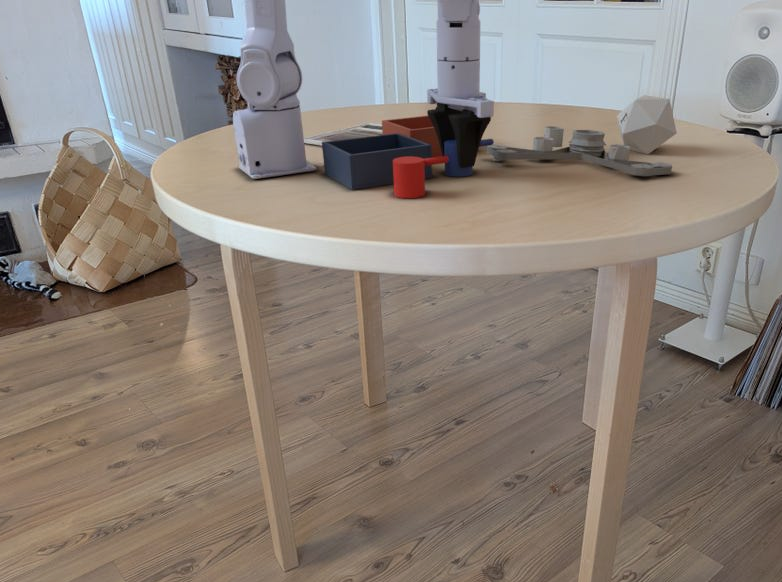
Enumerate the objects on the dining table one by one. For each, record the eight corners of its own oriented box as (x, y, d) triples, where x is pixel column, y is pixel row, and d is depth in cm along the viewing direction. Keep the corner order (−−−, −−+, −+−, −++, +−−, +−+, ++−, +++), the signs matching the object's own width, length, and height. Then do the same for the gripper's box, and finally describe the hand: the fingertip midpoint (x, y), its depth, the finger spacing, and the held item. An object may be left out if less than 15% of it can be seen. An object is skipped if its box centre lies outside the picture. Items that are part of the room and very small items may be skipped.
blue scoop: (453, 178, 93) (453, 146, 91) (439, 172, 96) (439, 141, 94) (500, 170, 96) (501, 139, 94) (485, 165, 99) (485, 135, 97)
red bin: (411, 160, 103) (410, 130, 100) (383, 148, 110) (381, 120, 108) (477, 151, 108) (478, 122, 106) (446, 140, 115) (446, 113, 113)
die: (625, 146, 113) (603, 99, 106) (677, 120, 109) (657, 70, 103) (635, 175, 108) (612, 128, 101) (689, 149, 104) (670, 99, 97)
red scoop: (402, 200, 84) (401, 164, 81) (389, 193, 87) (387, 158, 84) (456, 191, 87) (456, 157, 85) (441, 184, 90) (440, 151, 88)
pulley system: (507, 149, 111) (477, 164, 98) (509, 120, 109) (479, 130, 96) (675, 168, 103) (666, 186, 90) (681, 136, 100) (673, 151, 88)
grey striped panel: (345, 149, 109) (412, 131, 122) (344, 145, 109) (412, 128, 122) (300, 142, 115) (368, 125, 127) (299, 138, 114) (368, 122, 127)
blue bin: (352, 190, 88) (349, 155, 86) (324, 174, 96) (321, 142, 93) (432, 177, 93) (431, 144, 91) (400, 163, 101) (398, 132, 99)
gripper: (514, 62, 84) (510, 170, 91) (456, 53, 95) (457, 150, 102) (467, 65, 81) (466, 177, 88) (413, 56, 92) (416, 156, 99)
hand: (458, 163), depth 94 cm, fingers closed on blue scoop, 4 cm apart
